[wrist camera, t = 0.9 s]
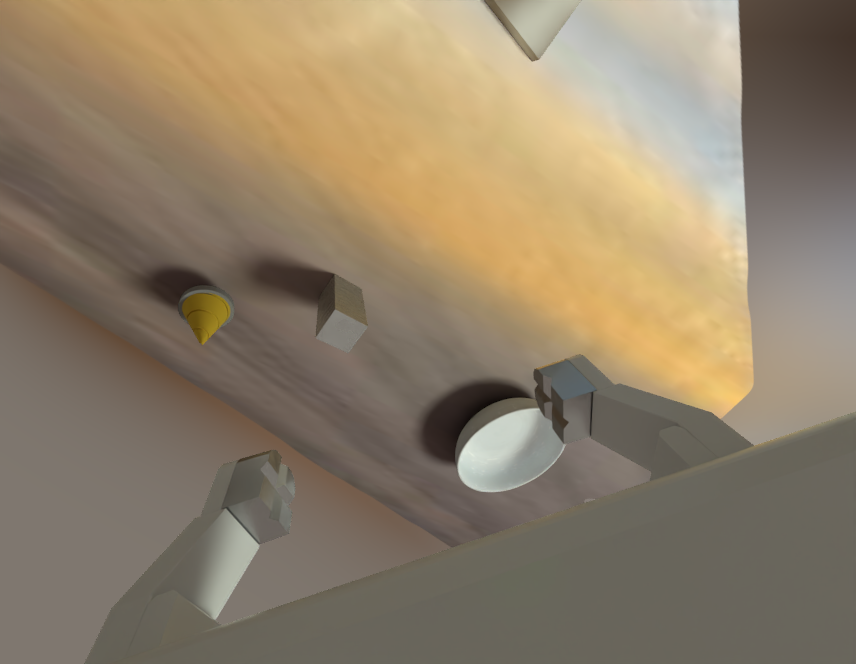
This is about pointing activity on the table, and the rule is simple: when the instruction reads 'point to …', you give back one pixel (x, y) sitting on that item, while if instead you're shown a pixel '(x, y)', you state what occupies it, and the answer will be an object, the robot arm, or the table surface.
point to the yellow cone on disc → (205, 310)
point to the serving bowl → (506, 446)
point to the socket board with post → (533, 21)
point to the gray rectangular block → (341, 314)
